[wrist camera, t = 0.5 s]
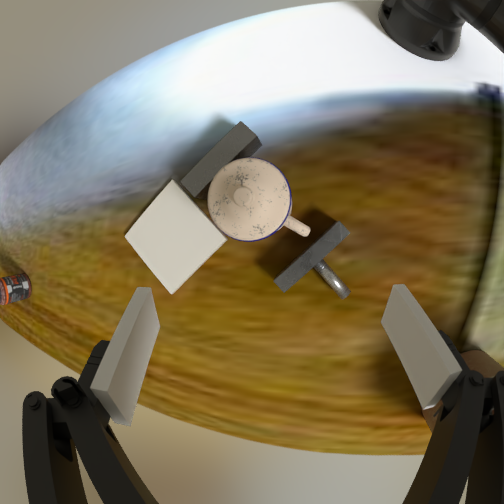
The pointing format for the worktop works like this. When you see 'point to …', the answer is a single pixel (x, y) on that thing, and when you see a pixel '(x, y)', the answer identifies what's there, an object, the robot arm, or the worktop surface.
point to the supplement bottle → (14, 288)
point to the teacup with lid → (252, 200)
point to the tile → (174, 237)
